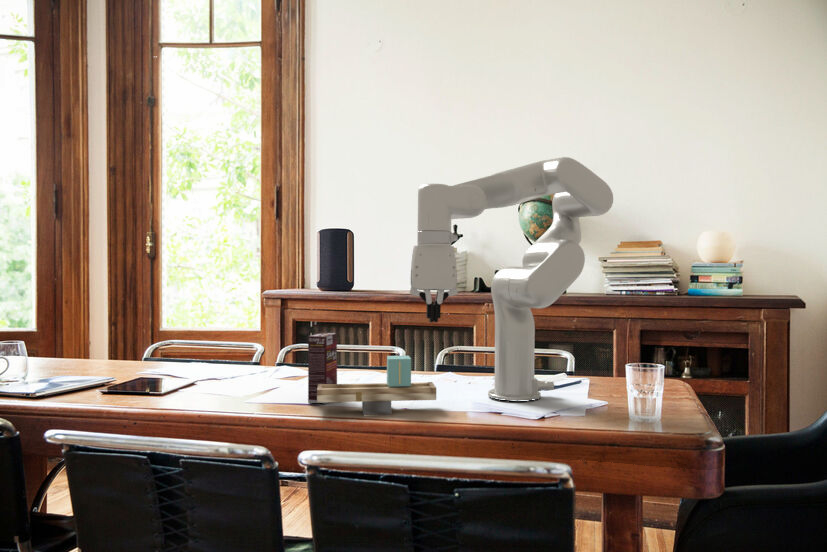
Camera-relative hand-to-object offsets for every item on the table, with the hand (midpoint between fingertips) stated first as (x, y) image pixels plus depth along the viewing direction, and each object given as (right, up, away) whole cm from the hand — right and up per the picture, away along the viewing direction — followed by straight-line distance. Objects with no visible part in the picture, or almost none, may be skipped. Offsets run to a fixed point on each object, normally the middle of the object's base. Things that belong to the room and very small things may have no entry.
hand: (433, 321), depth 157 cm
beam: (-13, -20, -1) cm, 24 cm away
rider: (-8, -15, 0) cm, 17 cm away
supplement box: (-26, -20, +11) cm, 35 cm away
